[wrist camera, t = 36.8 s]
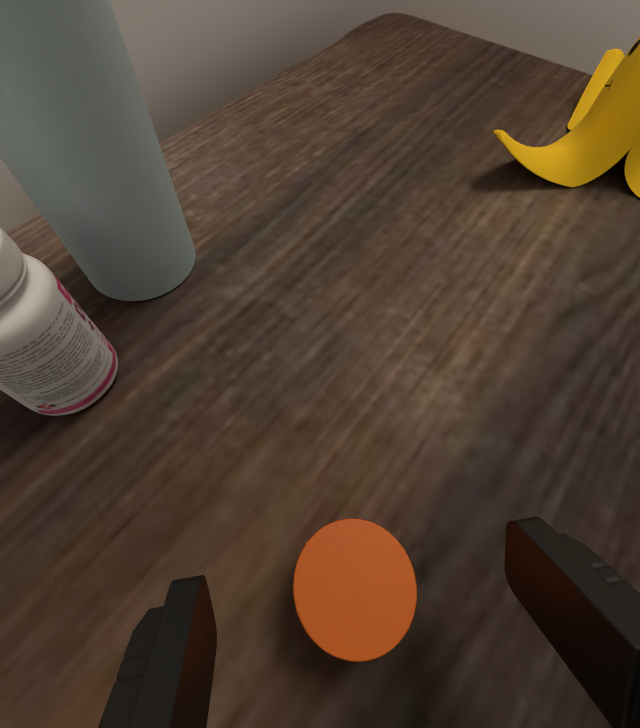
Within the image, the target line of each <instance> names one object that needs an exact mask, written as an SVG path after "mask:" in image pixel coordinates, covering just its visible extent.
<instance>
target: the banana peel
mask: <svg viewBox="0 0 640 728" xmlns="http://www.w3.org/2000/svg"><path fill="white" fill-rule="evenodd" d="M567 126H568V129H569V130H571V131H570V132H569V133H568V134H566V135H565V136H564V137H562V138H561V139H560V140H558V141H556V142H555V143H553V144H551V145H549V146H545V147H528V146H525V145H522V144H520V143H518V142H517V141H515V140H514V139H512V138H511V137H510V136H509V135H508V134H507V133H506V132H505V131H503V130H493V133H494V134H495V136H496V137H497V138H498V140H499V141H500V142H501V143H502V144H503V145H504V147H505V148H506V149H507V150H508V151H509V153H510V154H511V155H512V156H513V157H514V158H515V159H516V160H517V161H518V162H519V163H520V164H522V165H523V166H524V167H525V168H527V169H528V170H530V171H531V172H533V173H534V174H536V175H538V176H540V177H542V178H544V179H546V180H548V181H551V182H553V183H556V184H560V185H564V186H568V187H576V186H580V185H582V184H585V183H587V182H589V181H591V180H593V179H595V178H597V177H598V176H600V175H602V174H603V173H604V172H606V171H607V170H608V169H610V168H611V167H612V166H613V165H615V164H616V163H617V162H618V161H619V160H620V159H621V158H622V157H623V156H624V155H625V154H626V153H627V152H628V151H629V150H630V151H629V152H628V155H627V158H626V161H625V168H624V171H625V178H626V181H627V184H628V186H629V187H630V189H631V190H632V191H633V192H634V194H635V195H637V196H638V197H639V198H640V37H639V38H638V40H637V41H636V42H635V44H634V45H633V46H632V48H631V49H630V50H629V52H628V53H627V54H626V56H625V57H624V53H623V52H622V51H621V50H619V49H612V50H609V51H607V52H606V53H605V55H604V57H603V59H602V60H601V62H600V64H599V65H598V67H597V69H596V71H595V73H594V74H593V76H592V78H591V80H590V82H589V84H588V86H587V87H586V89H585V91H584V93H583V95H582V97H581V99H580V101H579V103H578V105H577V107H576V109H575V111H574V113H573V115H572V117H571V119H570V121H569V123H568V125H567ZM630 148H631V149H630Z"/></svg>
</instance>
